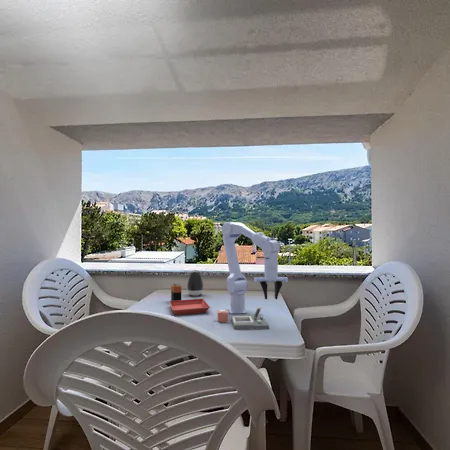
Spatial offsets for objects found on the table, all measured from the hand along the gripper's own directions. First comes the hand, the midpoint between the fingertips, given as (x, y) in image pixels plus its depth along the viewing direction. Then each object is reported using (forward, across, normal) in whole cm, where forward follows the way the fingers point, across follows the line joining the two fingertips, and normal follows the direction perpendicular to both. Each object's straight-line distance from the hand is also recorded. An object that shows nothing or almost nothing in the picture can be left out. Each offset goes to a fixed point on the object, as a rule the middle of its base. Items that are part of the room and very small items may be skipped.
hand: (270, 298), depth 128 cm
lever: (+8, -7, 0) cm, 11 cm away
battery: (+10, -45, +38) cm, 60 cm away
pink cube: (+10, -21, +3) cm, 23 cm away
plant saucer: (+10, -37, +21) cm, 44 cm away
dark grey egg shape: (+10, -35, +54) cm, 65 cm away
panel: (+10, -10, -1) cm, 14 cm away
